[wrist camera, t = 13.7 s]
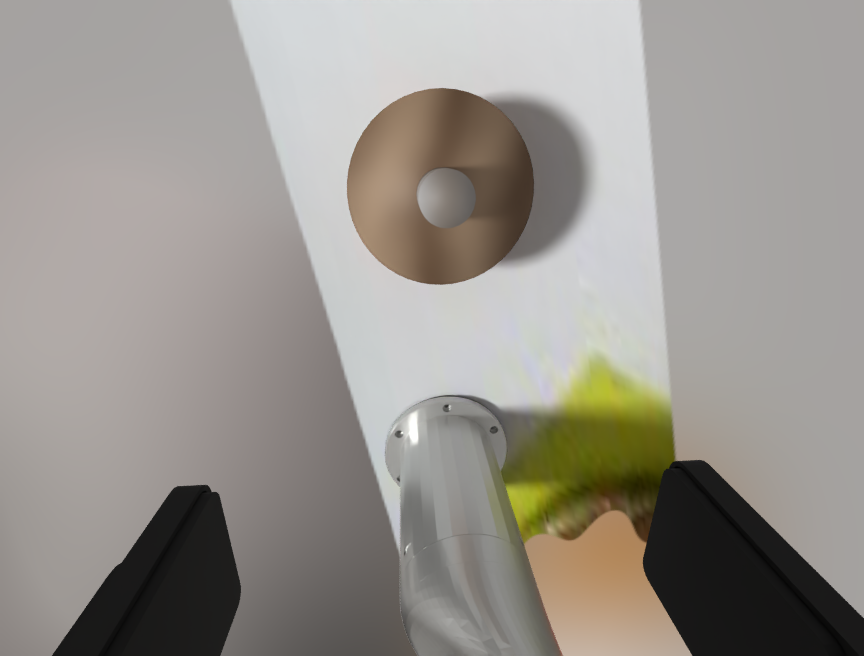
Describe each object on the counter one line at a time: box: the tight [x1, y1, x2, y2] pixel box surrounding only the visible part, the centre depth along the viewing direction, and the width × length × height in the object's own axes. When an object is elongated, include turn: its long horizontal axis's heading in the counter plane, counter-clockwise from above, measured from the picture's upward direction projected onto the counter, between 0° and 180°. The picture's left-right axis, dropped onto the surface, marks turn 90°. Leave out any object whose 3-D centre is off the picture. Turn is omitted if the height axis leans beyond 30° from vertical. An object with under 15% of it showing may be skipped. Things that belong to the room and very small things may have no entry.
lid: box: [347, 88, 534, 285], centre depth 29 cm, size 13×13×5 cm
